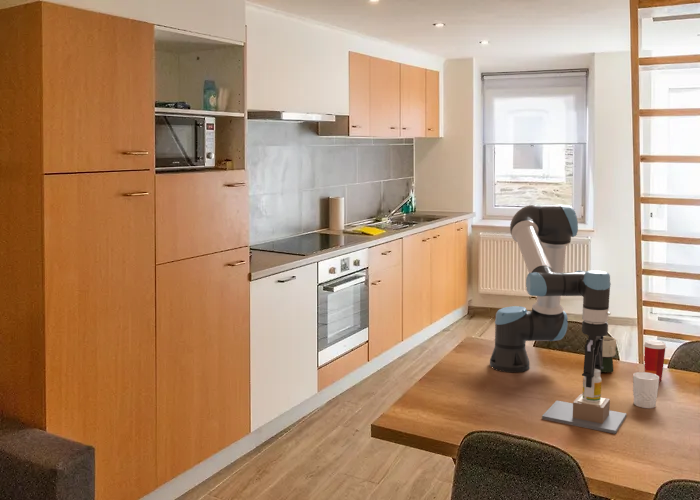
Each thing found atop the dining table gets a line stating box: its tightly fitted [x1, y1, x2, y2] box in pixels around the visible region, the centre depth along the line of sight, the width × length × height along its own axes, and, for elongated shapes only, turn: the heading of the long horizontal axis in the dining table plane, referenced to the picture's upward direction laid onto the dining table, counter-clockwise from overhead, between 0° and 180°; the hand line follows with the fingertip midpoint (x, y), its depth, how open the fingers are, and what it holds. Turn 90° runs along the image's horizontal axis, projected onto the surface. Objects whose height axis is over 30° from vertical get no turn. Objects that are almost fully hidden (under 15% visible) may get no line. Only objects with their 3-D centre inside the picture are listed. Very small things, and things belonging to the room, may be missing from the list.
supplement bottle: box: [582, 369, 603, 402], centre depth 211 cm, size 5×5×10 cm
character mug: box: [599, 335, 617, 374], centre depth 258 cm, size 11×7×13 cm, turn 6°
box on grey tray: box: [541, 393, 627, 434], centre depth 214 cm, size 22×16×6 cm
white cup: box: [632, 371, 660, 409], centre depth 224 cm, size 8×8×10 cm
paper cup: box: [643, 339, 667, 382], centre depth 249 cm, size 8×8×14 cm
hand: (591, 392), depth 212 cm, fingers open, 7 cm apart
